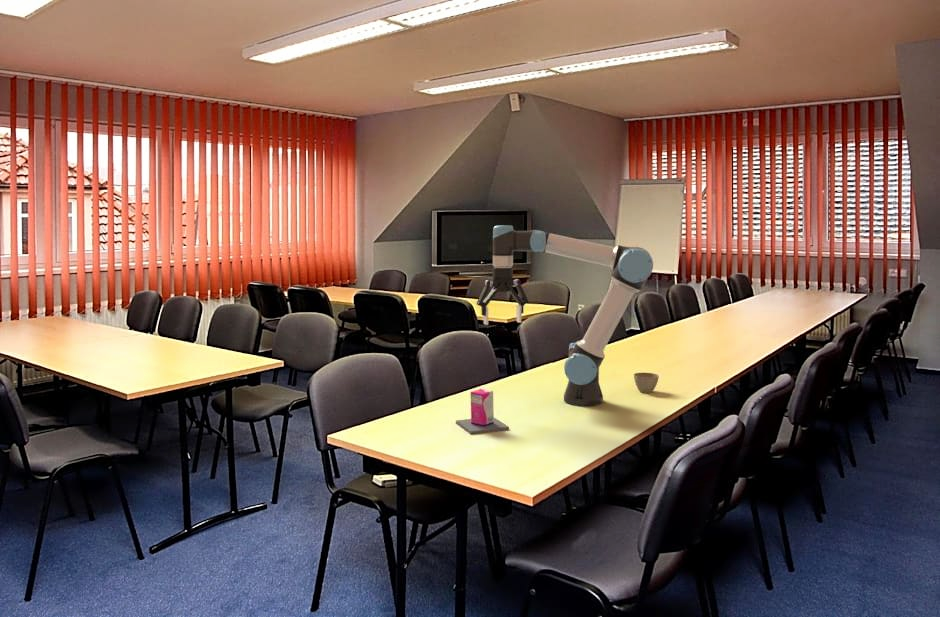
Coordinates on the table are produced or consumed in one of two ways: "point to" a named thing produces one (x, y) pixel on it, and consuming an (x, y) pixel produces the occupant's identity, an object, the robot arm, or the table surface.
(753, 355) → the table surface
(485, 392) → the supplement box
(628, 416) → the table surface
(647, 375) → the flower pot
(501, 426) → the gray mat
